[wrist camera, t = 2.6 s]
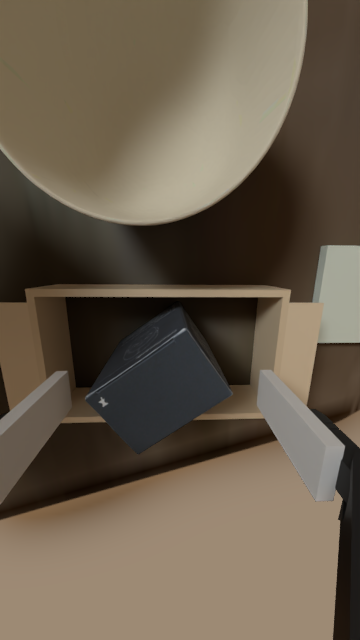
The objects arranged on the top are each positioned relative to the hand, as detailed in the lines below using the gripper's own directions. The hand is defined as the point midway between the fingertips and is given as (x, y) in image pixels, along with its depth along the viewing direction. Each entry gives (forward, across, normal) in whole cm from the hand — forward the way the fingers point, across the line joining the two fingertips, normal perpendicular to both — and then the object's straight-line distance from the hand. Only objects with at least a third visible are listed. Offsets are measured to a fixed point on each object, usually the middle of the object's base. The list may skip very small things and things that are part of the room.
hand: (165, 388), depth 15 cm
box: (+9, 0, 0) cm, 9 cm away
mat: (+9, +20, +5) cm, 23 cm away
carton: (+9, 0, 0) cm, 9 cm away
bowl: (+9, -2, +18) cm, 20 cm away
